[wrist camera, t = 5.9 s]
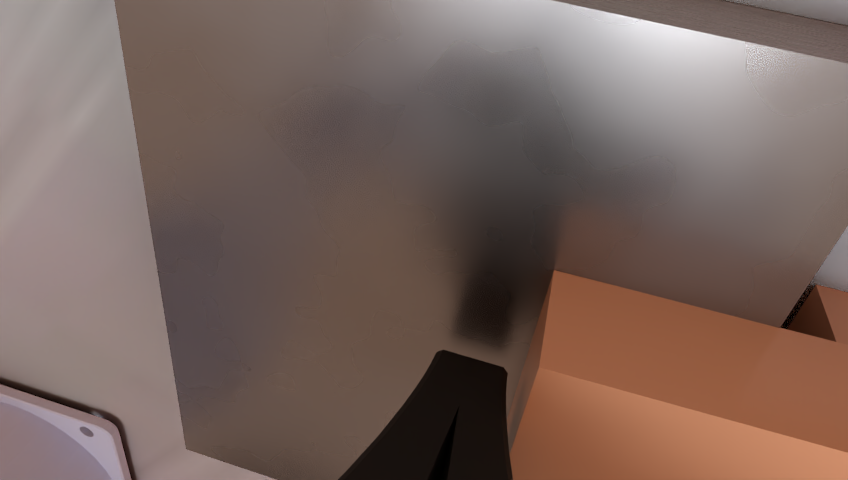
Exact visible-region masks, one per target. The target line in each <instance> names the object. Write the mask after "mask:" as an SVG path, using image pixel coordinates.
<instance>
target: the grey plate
mask: <svg viewBox="0 0 848 480" xmlns="http://www.w3.org/2000/svg"><path fill="white" fill-rule="evenodd" d="M115 6H116V13H117V19H118V25H119V31H120V38H121V44H122V50H123V56H124V63H125V69H126V75H127V81H128V88H129V94H130V100H131V107H132V113H133V119H134V125H135V132H136V138H137V144H138V150H139V157H140V163H141V169H142V175H143V182H144V188H145V194H146V201H147V207H148V213H149V219H150V226H151V232H152V238H153V244H154V251H155V257H156V263H157V269H158V276H159V282H160V288H161V295H162V301H163V307H164V313H165V320H166V326H167V332H168V338H169V345H170V351H171V357H172V363H173V370H174V376H175V382H176V389H177V395H178V401H179V407H180V414H181V420H182V426H183V432H184V439H185V445H186V449H188V450H191V451H194V452H197V453H199V454H202V455H205V456H208V457H211V458H214V459H217V460H220V461H223V462H226V463H229V464H232V465H235V466H238V467H241V468H244V469H247V470H250V471H253V472H256V473H259V474H262V475H265V476H268V477H271V478H274V479H277V480H338V479H339V478H340V477H341V476H342V475H343V474H344V473H345V472H346V471H347V470H348V468H349V467H350V466H351V465H352V464H353V463H354V462H355V461H356V460H357V459H358V457H359V456H360V455H361V454H362V453H363V452H364V451H365V450H366V449H367V448H368V446H369V445H370V444H371V443H372V442H373V441H374V440H375V439H376V438H377V436H378V435H379V434H380V433H381V432H382V430H383V429H384V428H385V427H386V425H387V424H388V423H389V422H390V420H391V419H392V418H393V417H394V415H395V414H396V413H397V412H398V410H399V409H400V408H401V407H402V405H403V404H404V403H405V401H406V400H407V399H408V397H409V396H410V395H411V393H412V392H413V390H414V389H415V388H416V386H417V385H418V383H419V382H420V380H421V379H422V377H423V375H424V374H425V372H426V371H427V369H428V367H429V366H430V364H431V362H432V360H433V358H434V356H435V354H436V352H438V351H441V350H447V351H450V352H453V353H457V354H460V355H464V356H467V357H471V358H474V359H477V360H481V361H484V362H488V363H491V364H494V365H498V366H501V367H504V369H505V370H506V371H507V373H508V376H507V388H506V417H507V418H508V414H509V411H510V408H511V405H512V402H513V399H514V395H515V392H516V389H517V386H518V383H519V379H520V376H521V373H522V370H523V367H524V364H525V360H526V357H527V354H528V351H529V348H530V345H531V341H532V338H533V335H534V332H535V329H536V326H537V322H538V319H539V316H540V313H541V310H542V306H543V303H544V300H545V297H546V294H547V291H548V287H549V284H550V281H551V278H552V275H553V272H554V270H556V271H560V272H564V273H568V274H572V275H576V276H580V277H584V278H588V279H591V280H595V281H599V282H603V283H607V284H611V285H615V286H619V287H623V288H627V289H631V290H635V291H639V292H642V293H646V294H650V295H654V296H658V297H662V298H666V299H669V300H673V301H677V302H681V303H685V304H689V305H693V306H696V307H700V308H704V309H708V310H712V311H716V312H719V313H723V314H727V315H731V316H735V317H739V318H743V319H746V320H750V321H754V322H758V323H762V324H766V325H770V326H773V327H777V328H780V327H781V325H782V324H783V322H784V321H785V319H786V318H787V316H788V315H789V313H790V312H791V310H792V309H793V307H794V306H795V304H796V303H797V301H798V300H799V298H800V297H801V295H802V294H803V292H804V291H805V289H806V288H807V286H808V285H809V283H810V282H811V280H812V279H813V277H814V276H815V274H816V273H817V271H818V270H819V268H820V267H821V265H822V263H823V262H824V260H825V259H826V257H827V256H828V254H829V253H830V251H831V250H832V248H833V247H834V245H835V244H836V242H837V241H838V239H839V238H840V236H841V235H842V233H843V232H844V230H845V229H846V227H847V226H848V26H844V25H840V24H835V23H830V22H825V21H820V20H815V19H810V18H806V17H801V16H796V15H791V14H786V13H781V12H776V11H772V10H767V9H762V8H757V7H752V6H747V5H742V4H738V3H733V2H728V1H723V0H115Z"/></svg>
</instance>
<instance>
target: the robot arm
mask: <svg viewBox="0 0 848 480" xmlns="http://www.w3.org/2000/svg"><path fill="white" fill-rule="evenodd" d="M507 376H508V373H507V371H506V370H505V369H504V367H501V366H498V365H494V364H491V363H488V362H484V361H481V360H477V359H474V358H471V357H467V356H464V355H460V354H457V353H453V352H450V351H447V350H441V351H438V352H436V354H435V356H434V358H433V360H432V362H431V364H430V366H429V367H428V369H427V371H426V372H425V374H424V375H423V377H422V379H421V380H420V382H419V383H418V385H417V386H416V388H415V389H414V390H413V392H412V393H411V395H410V396H409V397H408V399H407V400H406V401H405V403H404V404H403V405H402V407H401V408H400V409H399V410H398V412H397V413H396V414H395V415H394V417H393V418H392V419H391V420H390V422H389V423H388V424H387V425H386V427H385V428H384V429H383V430H382V432H381V433H380V434H379V435H378V436H377V438H376V439H375V440H374V441H373V442H372V443H371V444H370V445H369V446H368V448H367V449H366V450H365V451H364V452H363V453H362V454H361V455H360V456H359V457H358V459H357V460H356V461H355V462H354V463H353V464H352V465H351V466H350V467H349V468H348V470H347V471H346V472H345V473H344V474H343V475H342V476H341V477H340V478H339V479H338V480H513V476H512V469H511V461H510V453H509V444H508V433H507V417H506V388H507ZM0 480H131V476H130V473H129V469H128V465H127V461H126V457H125V453H124V449H123V446H122V442H121V438H120V434H119V431H118V429H117V427H116V426H115V425H114V424H113V423H112V422H110V421H108V420H106V419H103V418H100V417H97V416H94V415H91V414H88V413H85V412H82V411H79V410H76V409H73V408H70V407H67V406H64V405H61V404H58V403H55V402H52V401H49V400H46V399H43V398H40V397H37V396H34V395H31V394H28V393H25V392H22V391H19V390H16V389H13V388H10V387H7V386H4V385H1V384H0Z"/></svg>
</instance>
